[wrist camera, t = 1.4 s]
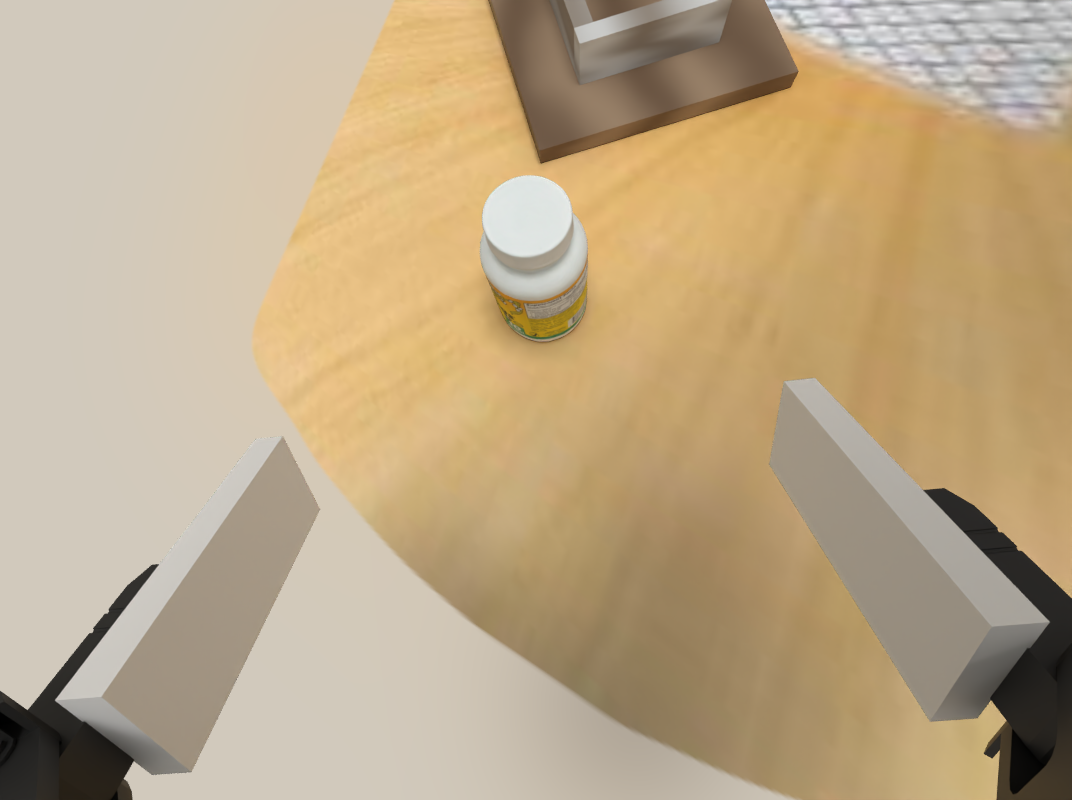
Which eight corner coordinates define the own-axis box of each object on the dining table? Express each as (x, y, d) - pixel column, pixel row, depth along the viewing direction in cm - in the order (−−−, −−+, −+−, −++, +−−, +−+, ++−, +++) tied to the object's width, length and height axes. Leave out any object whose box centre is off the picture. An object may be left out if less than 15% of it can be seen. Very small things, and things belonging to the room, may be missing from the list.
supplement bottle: (596, 330, 30) (604, 254, 21) (512, 353, 30) (481, 287, 21) (573, 252, 31) (570, 146, 22) (492, 275, 31) (454, 179, 22)
